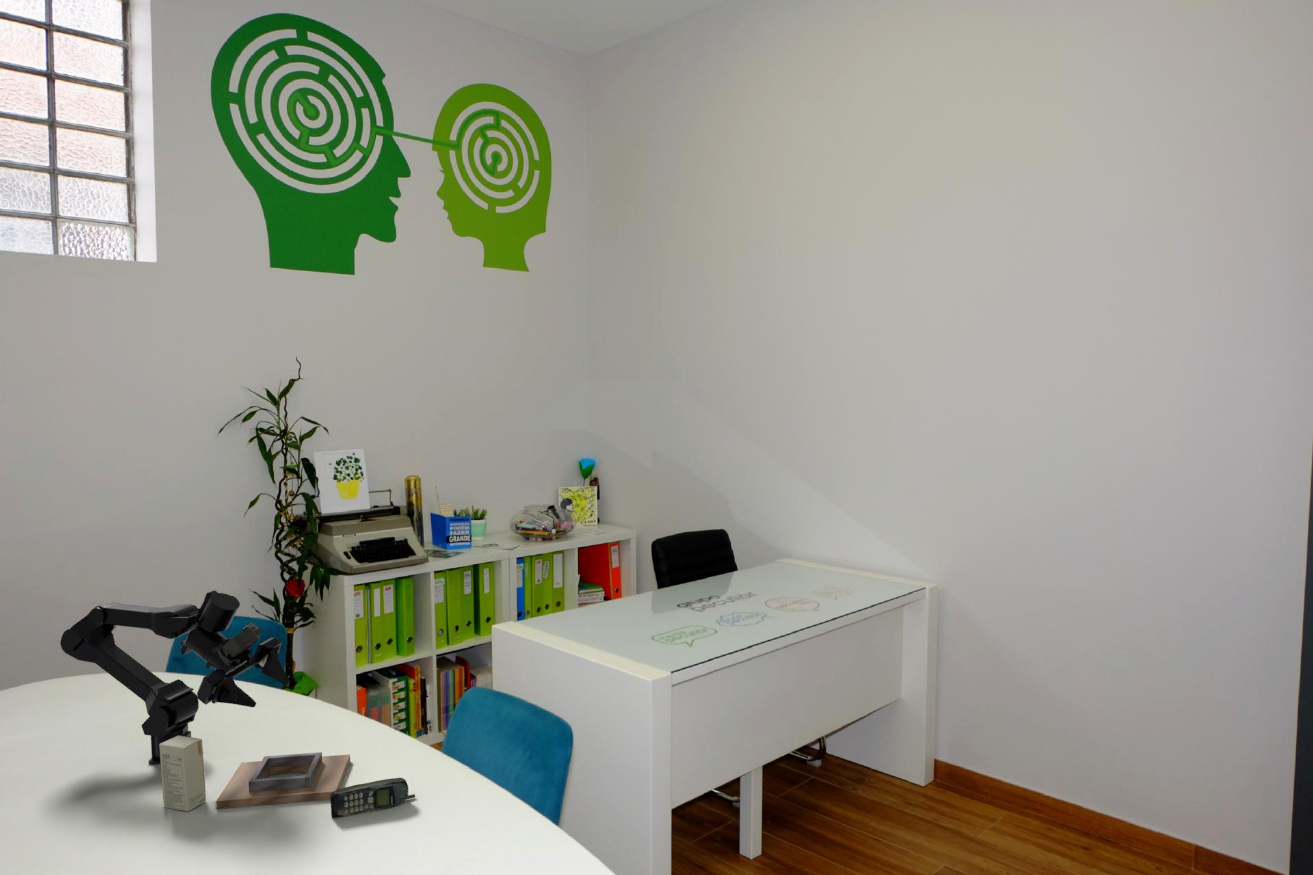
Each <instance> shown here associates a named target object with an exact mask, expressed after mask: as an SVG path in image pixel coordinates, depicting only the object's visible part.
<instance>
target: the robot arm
mask: <svg viewBox="0 0 1313 875" xmlns="http://www.w3.org/2000/svg"><path fill="white" fill-rule="evenodd" d="M240 603H241V602H240V601H239V599H238V598H237V597H235V596H234V595H231V594H228V593H223V592H218V591H217V590H215V589H214V590H210V591H208V592H206V594H205V596H204V600H203V602H202V604H201V605H200V607H197V606H196V605H195V604H192V603H186V604H176V605H172V606H167V607H158V606H157V607H156V606H147V605H137V604H127V603H120V602H117V601H110V602H106V603H102V604H100V605H99V604H98V605H96V606H95V607H94V608H93V609H91V610H89V612H88V614H86V615H85V616H84V617H82V618H81V619H79V621H77V622H76V623H74V624H73V625H72V626H71V627H70V628H68V629H66V630H65V631H63V633H62V635H61V637H60V648H61V649H62V651H63V652H64V654H66V655H68V656H70V657H71V658H73V659H75V660H76V661H81V662H85V663H91V664H95V665H96V666H98V667H99V668H101V669H102V670H103V671H105V673H107V674H109V675H110V676H111V677H112V678H114V679H115V680H116V681H117V682H119V683H120V684H122V685H123V686H124V687H125V688H127V689H128V690H129V691H130V692H132V693H133V694H135V695H136V696H137V697H138V698H140V699H141V700H142V701H143V702H144V704H145V708H146V712H147V714H148V717H147V719H146V720H145V721H144V722H143V723H142V724H141V728H142V731H143V735H145V736H150V748H151V749H150V750H151V757H150V759H149V760H148V764H150V765H151V764H161V760H160V746H159V744H161V743H163V742H165V741H167V740H169V739H172V738H174V737H176V736H178V735H179V736H186V737H192V731H191V730H189V724H190V723H192V722H193V721H195V717H196V714H197V712H198V711H199V706H200V705H199V702H201V703H203V704H204V705H208V704H209V703H212V704H214V705H215V704H217V703H220V704H231V705H236V706H237V705H238V706H242V707H249V708H255V707H257V706H256V705H257V702H256V701H255V700H254V699H253V698H252V697H251V696H250V695H249V694H247V693H246V692H245V691H244V690H243V689H242V688H240V687H239V686H238V685H237V684H236V682H235V680H234V678H237V677H238V676H240V675H241V674H243V673H245V672H246V671H248V670H250V669H251V668H253V667H255V668H256V669H259V670H261V672H260V673H261V674H263V675H265V676H267V677H268V678H271V679H273V680H275V681H276V682H278V683H281V684H283V685H285V686H287V685H289V684H290V679H289V676H288V675H287V673H286V671H285V669H284V667H282V663H281V662H280V660H279V654H280V651H281V646H282V645H283V642H281V641H280V640H279V639H277V638H275V637H270V638H268V639H267V640H265V641H263V642H262V643H259V644H258V645H257V648H256V650H255V652H254V653H253V655H251V656H249V655H250V654H251V653H252V651H253V648H252V646H253V645H254V644H256V643H257V642H260V640H261V639H260V636H261V635H262V634H263V631H262V629H261V628H260V627H259V626H258V625H256V624H255V623H253V622H251V623H249V624H248V625H246V626H245V627H244V628H242V631H241V632H239V633H237V634H236V635H234V636H230V637H228V638H227V636H224V635H223V634H222V633H221V632H225V631H227V630H228V628H229V627H230V624H231V623H232V622H233V619H234V617H235V615H237V614H236V613H237V612H238V610H239V609H240V608H239V607H240V605H241V604H240ZM118 626H119V627H127V628H128V627H129V628H137V629H147V630H149V631H152V632H153V633H154V635H156V636H158V637H162V638H165V639H169V640H173V639H176V638H179V637H181V636H183V635H186V634H187V636H186V638H185V639H183V640H181V641H180V642H179V644H180V649H179V651H180V654H181V656H184V655H187V654H188V653H191V652H193V653H195V655H197V656H198V657H200V658H201V659H202V660H203V661H205V662H206V664H205V665H204V667H205V668H206V669H207V670H212V669H213V668H214V671H212V672H210V673H209V674H207V675H205V676H203V677H202V681H201V683H200V685H199V688H198V690H197V692H196V693H195V692H194V690H195V689H194V688H193V687H191V686H188V685H187V684H186V683H185V681H183V680H182V679H178V678H177V679H176V680H173V681H171V682H165V681H164V680H162V679H161V678H160V677H158V676H157V675H156V674H154V673H153V672H152V671H150V670H149V669H148V668H147V667H145V666H144V665H143V664H141V663H140V662H138V661H137V660H136V659H135V658H134V657H132V656H131V655H129V654H128V653H126V652H125V651H124V650H123V649H121V648H120V647H119V646H117V645H116V641H115V636H114V633H113V631H114V630H116V628H117V627H118Z"/></svg>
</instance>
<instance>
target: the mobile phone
mask: <svg viewBox="0 0 1313 875" xmlns="http://www.w3.org/2000/svg"><path fill="white" fill-rule="evenodd" d="M414 798H416V794H415V793H413V794H409V785H408V783H407V780H406V779H405V778H403V777H395V778H385V779H380V780H376V781H370V782H365V783H359V784H354V785H350V786H349V785H348V786H346V787H340V789H338V790H336V791H334V792H332V793H331V795H330V800H329V801H330V814H331V818H333V819H337V818H339V819H340V818H342V817H343V818H344V817H348V815H349V816H352V815H353V814H354V815H358V813H359V814H362V812H364V813H366V812H367V813H369V812H373V810H375V811H379V810H378V809H381V810H386V808H387V809H389V807H390V808H394V807H395V806H397V805H400V804H403V803H404V802H406V801H407V800H410V799H414ZM368 811H369V812H368Z"/></svg>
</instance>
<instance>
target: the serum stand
mask: <svg viewBox="0 0 1313 875" xmlns="http://www.w3.org/2000/svg"><path fill="white" fill-rule="evenodd" d="M350 763H351V754H348V753H347V754H336V755H323V752H322V751H319V752H308V753H307V752H306V753H292V754H281V755H280V754H278V755H267V756H266V755H265V756H263V758H262V759H261V760H259V761H256V760H255V761H246V762H245V761H243V762H241V763H240V764H239V766H238V767H237V769H236V770H235V772H234V773H233V775H232V776H231V777H230V779H229V781H228V783H227V784H226V786H225V787H224V789H223V790H222V792H221V793H220V794H219V796H218V798H217V799H216V801H215V804H216V808H215V809H216V810H222V809H230V808H232V809H233V808H243V807H244V808H246V807H256V806H257V807H258V806H269V805H270V806H271V805H281V804H291V803H306V802H316V801H331V800H330V795H331V793H332V792H334V791H336V790H338V789H341V786H342V783H343V781H344V779H343V778H345V776H346V774H347V771H348V768H349V766H350ZM289 773H290V774H298V773H299V774H301V773H305V775H294V776H293V775H292V776H291V775H290V774H289ZM287 774H289V775H290V776H281V777H278V776H277V777H269V776H274V775H275V776H276V775H287Z"/></svg>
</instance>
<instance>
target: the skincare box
mask: <svg viewBox="0 0 1313 875" xmlns="http://www.w3.org/2000/svg"><path fill="white" fill-rule="evenodd" d="M159 746H160V760H161V763H160V772H161V773H160V774H161V785H162V800H163V804H162V805H163V807H164V808H167V809H172V810H179V811H184V812H189V811H191V810H192V809H194V808H196V807H199V805H202V804H203V803H205V802H207V794H206V792H207V791H206V779H205V764H204V750H203V749H204V748H203V739H202V738H198V737H192V736H191V737H186V736H179V735H178V736H176V737H174V738H172V739H169V740H167V741H165V742H163V743H161V744H159Z"/></svg>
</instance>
